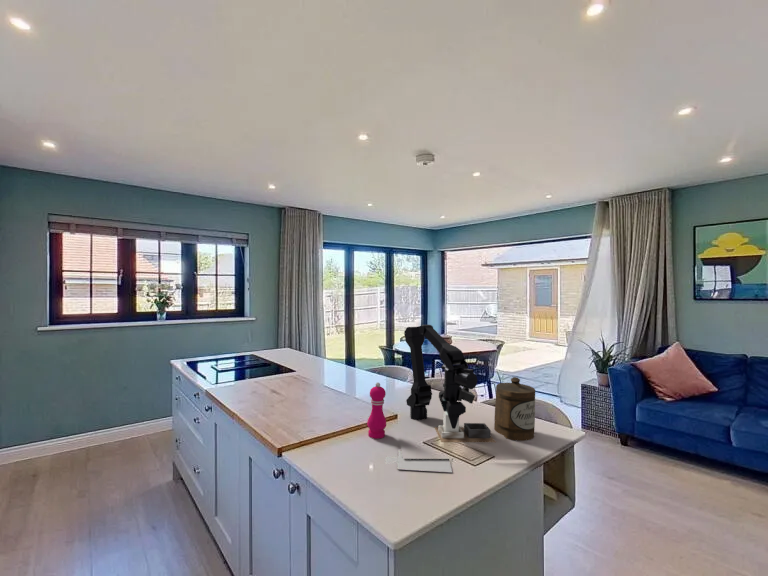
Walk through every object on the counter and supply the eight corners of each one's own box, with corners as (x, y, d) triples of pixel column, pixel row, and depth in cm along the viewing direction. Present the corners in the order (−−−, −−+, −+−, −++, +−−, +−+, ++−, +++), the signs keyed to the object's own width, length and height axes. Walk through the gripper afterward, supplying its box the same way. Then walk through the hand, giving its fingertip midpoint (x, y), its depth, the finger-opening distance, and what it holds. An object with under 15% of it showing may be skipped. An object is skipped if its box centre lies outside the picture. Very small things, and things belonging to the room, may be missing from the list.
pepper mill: (384, 440, 137) (385, 385, 137) (364, 438, 138) (366, 384, 138) (387, 432, 144) (389, 380, 144) (369, 430, 145) (370, 379, 145)
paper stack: (456, 491, 104) (456, 489, 104) (366, 486, 106) (366, 483, 106) (447, 454, 127) (447, 452, 127) (374, 450, 129) (374, 448, 129)
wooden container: (521, 444, 136) (522, 384, 136) (486, 431, 148) (488, 376, 147) (541, 435, 146) (543, 378, 145) (507, 423, 157) (509, 371, 157)
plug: (445, 436, 139) (445, 411, 139) (443, 432, 143) (443, 408, 143) (458, 436, 139) (459, 411, 139) (456, 432, 143) (456, 408, 143)
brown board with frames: (441, 444, 134) (441, 433, 134) (434, 429, 148) (434, 419, 148) (496, 445, 135) (496, 433, 135) (483, 430, 149) (484, 420, 149)
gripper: (480, 389, 132) (479, 433, 132) (466, 376, 151) (465, 415, 151) (449, 389, 132) (448, 433, 132) (439, 376, 150) (437, 415, 150)
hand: (450, 423), depth 141 cm, fingers open, 9 cm apart
